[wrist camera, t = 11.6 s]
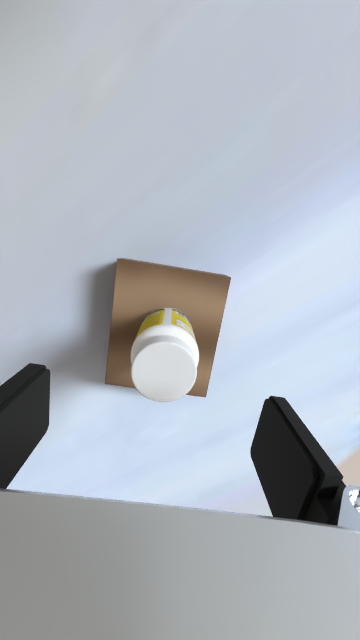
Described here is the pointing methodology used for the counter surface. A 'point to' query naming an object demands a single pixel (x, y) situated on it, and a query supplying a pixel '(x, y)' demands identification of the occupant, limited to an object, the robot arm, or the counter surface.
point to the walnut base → (164, 292)
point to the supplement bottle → (164, 356)
